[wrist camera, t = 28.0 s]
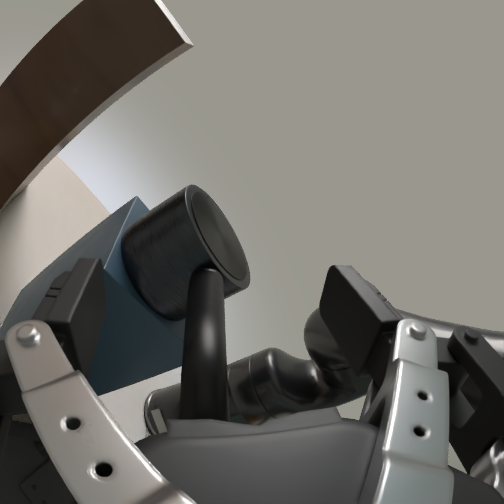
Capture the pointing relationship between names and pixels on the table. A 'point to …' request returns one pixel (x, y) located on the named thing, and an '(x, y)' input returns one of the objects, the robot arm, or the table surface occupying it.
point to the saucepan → (190, 288)
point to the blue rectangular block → (112, 310)
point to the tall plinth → (78, 80)
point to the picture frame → (29, 470)
